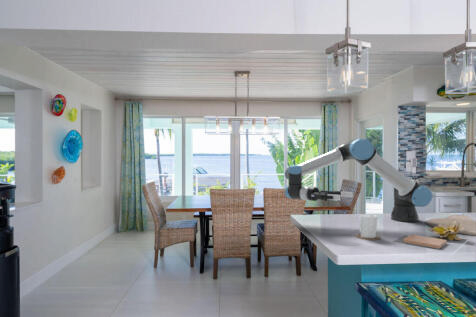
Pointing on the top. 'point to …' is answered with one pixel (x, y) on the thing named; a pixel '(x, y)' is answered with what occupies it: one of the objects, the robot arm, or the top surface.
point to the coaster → (368, 238)
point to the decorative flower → (448, 230)
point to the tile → (425, 241)
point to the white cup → (368, 225)
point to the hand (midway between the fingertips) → (346, 196)
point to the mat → (400, 240)
